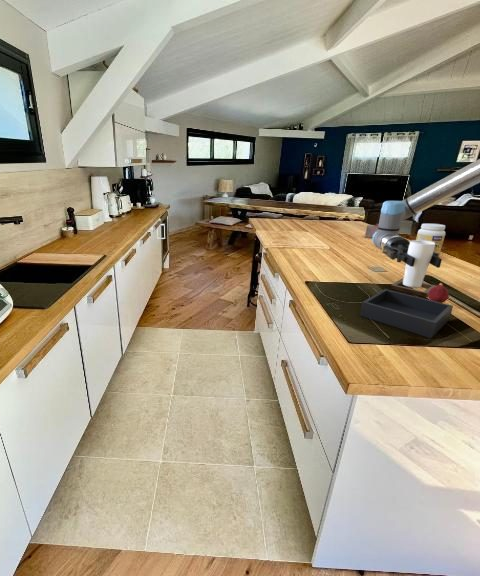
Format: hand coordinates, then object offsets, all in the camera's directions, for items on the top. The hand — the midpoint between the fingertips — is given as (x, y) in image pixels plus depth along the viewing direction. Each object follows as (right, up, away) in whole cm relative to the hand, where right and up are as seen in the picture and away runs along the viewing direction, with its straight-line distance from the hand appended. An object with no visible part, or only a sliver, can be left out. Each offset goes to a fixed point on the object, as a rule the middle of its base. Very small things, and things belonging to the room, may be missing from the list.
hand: (426, 262), depth 98 cm
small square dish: (+16, -8, +28) cm, 34 cm away
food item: (+55, +27, +120) cm, 135 cm away
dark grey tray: (-4, -18, +4) cm, 19 cm away
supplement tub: (+56, +10, +75) cm, 95 cm away
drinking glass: (+1, -7, +8) cm, 11 cm away
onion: (+14, -14, +14) cm, 24 cm away
